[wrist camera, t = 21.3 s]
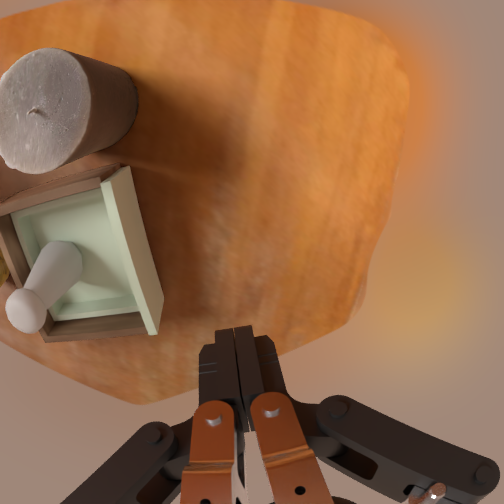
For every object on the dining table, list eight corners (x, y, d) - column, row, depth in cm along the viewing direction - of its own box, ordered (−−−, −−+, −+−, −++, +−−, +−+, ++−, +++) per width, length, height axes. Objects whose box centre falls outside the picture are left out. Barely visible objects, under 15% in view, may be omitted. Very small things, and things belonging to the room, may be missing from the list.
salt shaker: (91, 240, 34) (46, 304, 22) (86, 281, 36) (48, 351, 24) (49, 228, 32) (-7, 284, 21) (46, 268, 35) (-1, 332, 23)
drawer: (22, 195, 31) (-9, 216, 25) (129, 165, 32) (110, 181, 26) (66, 311, 39) (48, 344, 32) (164, 297, 40) (157, 334, 33)
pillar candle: (155, 86, 29) (112, 70, 16) (112, 163, 32) (51, 202, 19) (85, 52, 26) (12, 29, 13) (47, 128, 29) (-35, 150, 16)
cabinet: (17, 192, 32) (-13, 211, 25) (119, 162, 32) (99, 176, 26) (62, 311, 40) (45, 342, 33) (156, 299, 40) (149, 333, 34)
